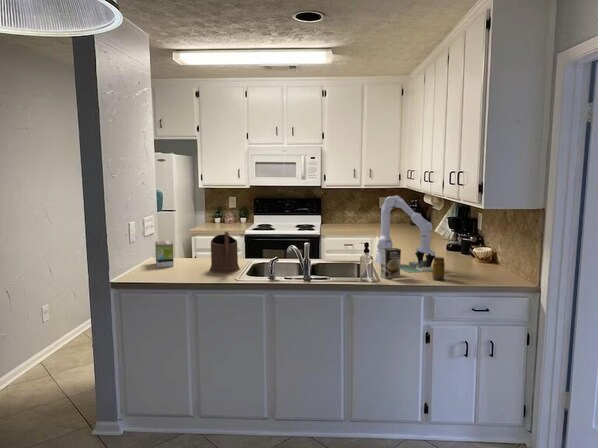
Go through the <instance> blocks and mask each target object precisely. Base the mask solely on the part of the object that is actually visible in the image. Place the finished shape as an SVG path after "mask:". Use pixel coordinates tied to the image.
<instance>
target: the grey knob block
mask: <svg viewBox="0 0 598 448" xmlns="http://www.w3.org/2000/svg"><path fill="white" fill-rule="evenodd" d="M408 265H410V266H412V267H415V268H416V266H417V265H420V264H419V263H418V260H416V261H409V262H408Z"/></svg>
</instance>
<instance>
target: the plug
mask: <svg viewBox="0 0 598 448" xmlns="http://www.w3.org/2000/svg"><path fill="white" fill-rule="evenodd" d="M422 267H427V259H423V261H420V269H421V268H422Z"/></svg>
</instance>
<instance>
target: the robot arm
mask: <svg viewBox="0 0 598 448" xmlns="http://www.w3.org/2000/svg"><path fill="white" fill-rule="evenodd" d="M394 208H399V209H402V211H404V212H405V213H406V214H407V215H408V216H409V217H410V221H412V222H413V223H414V224H415V225H416V227H418V228H419V232H420V247H417V248H415V251H416V252H415V256H416V258H417V261H418V263H419V264H420V261H424V256H425V258H426V259H425V260H427V267H431V266H432V265H433V262H434V257H436V252H435V251H433V250H431V243H432V242H431V239H432V230H433V224H432V222H431V221H428V220H427V219H425V218H424V217H423V216H422V214H421V213H419V212H415V211H414V210H413V209H412V208H411V207H410V206H409V205H408V204H407V203H406V201H405V200H404V199H403V198H402V197H401V196H399V195H393V196H387V197H386V198H385V199H384V202H383V204H382V205H381V211H380V212H381V213H380V237H379V238H378V243H377V244H376V248H377V250H378V251H377V252H376V257H375V259H376V260H375V262H376V264H378V265H380V266H381V250H382V248H393V246H394V245H393V242H392V237H391V235H390V233H391V230H390V229H391V211H392V210H393V209H394ZM425 254H426V255H425Z"/></svg>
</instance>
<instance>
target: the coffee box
mask: <svg viewBox="0 0 598 448" xmlns="http://www.w3.org/2000/svg"><path fill="white" fill-rule="evenodd" d="M401 254H402V249H400V248H398V247H392V248H382V250H381V265H380V277H382V278H383V279H386V280H389V279H392V278H394V277H395V278H397V277H400V276H401V269H400V266H401V258H402V257H401Z"/></svg>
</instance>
